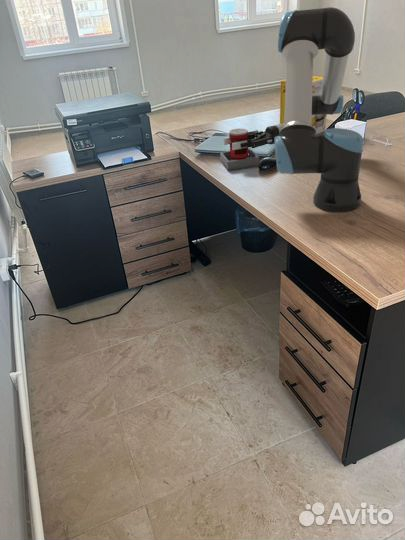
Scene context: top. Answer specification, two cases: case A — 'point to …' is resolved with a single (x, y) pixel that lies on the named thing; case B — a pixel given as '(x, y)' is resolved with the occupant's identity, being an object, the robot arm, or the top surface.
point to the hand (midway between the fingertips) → (228, 144)
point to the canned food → (238, 136)
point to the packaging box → (316, 120)
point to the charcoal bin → (239, 161)
